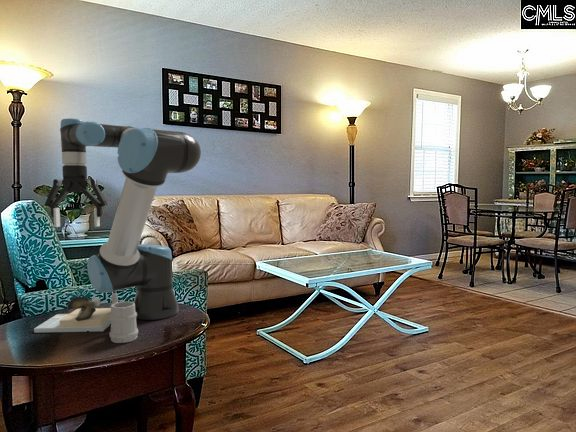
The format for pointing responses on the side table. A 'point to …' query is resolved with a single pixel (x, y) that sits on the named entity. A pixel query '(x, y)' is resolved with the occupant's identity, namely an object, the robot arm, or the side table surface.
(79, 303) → the eagle figurine
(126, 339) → the mug
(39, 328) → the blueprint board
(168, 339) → the side table surface
